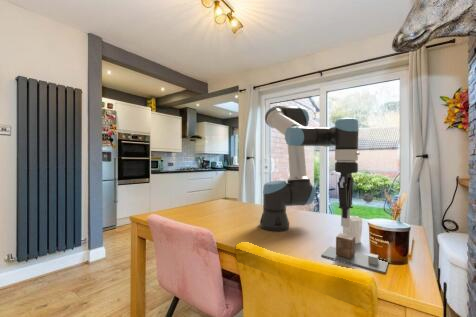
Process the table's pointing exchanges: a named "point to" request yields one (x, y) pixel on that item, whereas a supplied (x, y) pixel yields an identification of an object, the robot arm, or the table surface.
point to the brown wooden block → (345, 245)
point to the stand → (359, 260)
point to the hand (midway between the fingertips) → (345, 226)
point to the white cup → (354, 228)
